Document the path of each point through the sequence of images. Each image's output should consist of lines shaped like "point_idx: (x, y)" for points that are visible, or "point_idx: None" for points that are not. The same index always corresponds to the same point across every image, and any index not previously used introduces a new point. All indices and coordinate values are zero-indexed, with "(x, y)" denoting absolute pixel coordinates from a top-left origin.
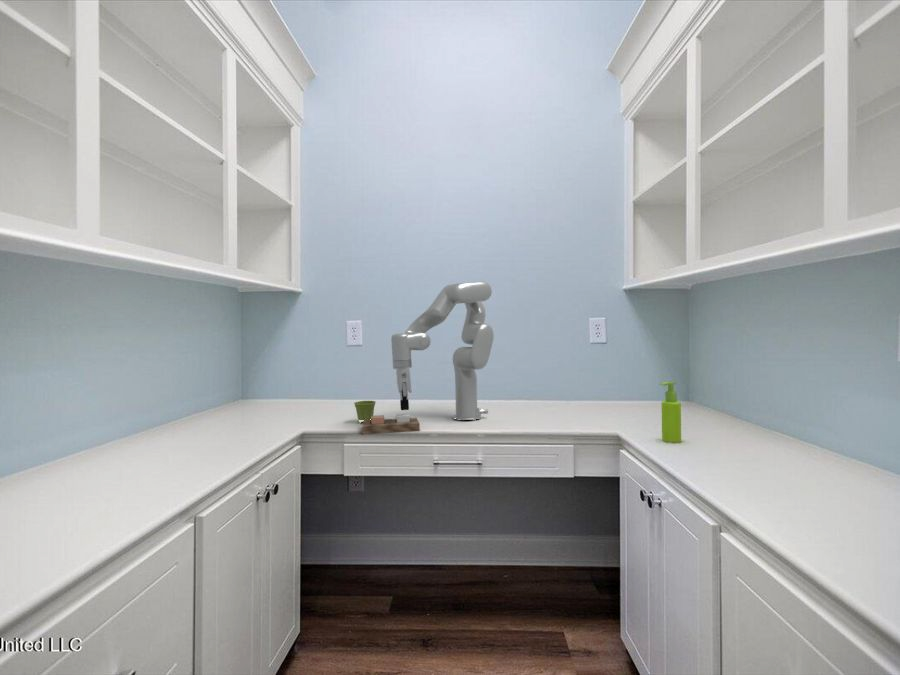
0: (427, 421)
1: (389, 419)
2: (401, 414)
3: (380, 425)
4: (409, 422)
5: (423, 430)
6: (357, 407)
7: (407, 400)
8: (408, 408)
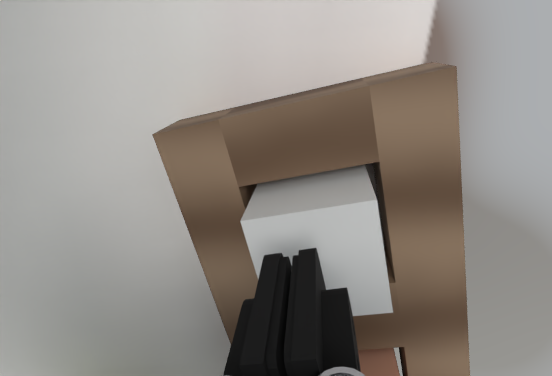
0: (35, 36)
1: None
2: None
3: (468, 373)
4: (392, 176)
5: (414, 27)
6: None
7: (320, 362)
8: (316, 257)
